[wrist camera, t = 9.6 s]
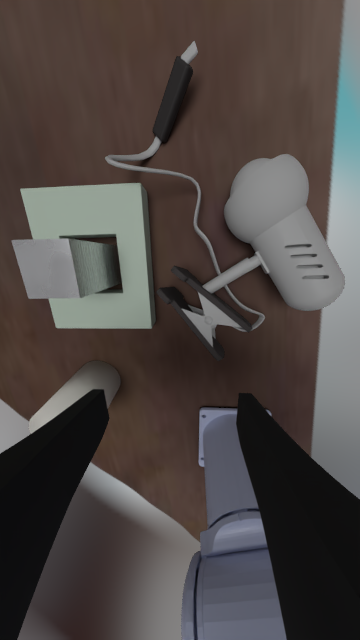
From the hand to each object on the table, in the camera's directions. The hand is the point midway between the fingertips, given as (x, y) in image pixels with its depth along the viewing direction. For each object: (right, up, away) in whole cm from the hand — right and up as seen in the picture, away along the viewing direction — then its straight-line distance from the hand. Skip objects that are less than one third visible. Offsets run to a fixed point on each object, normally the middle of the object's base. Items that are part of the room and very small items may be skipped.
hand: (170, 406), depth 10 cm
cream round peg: (-9, -2, +11) cm, 14 cm away
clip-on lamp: (+3, +12, +6) cm, 14 cm away
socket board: (-7, +10, +7) cm, 14 cm away
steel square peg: (-7, +10, +7) cm, 14 cm away
